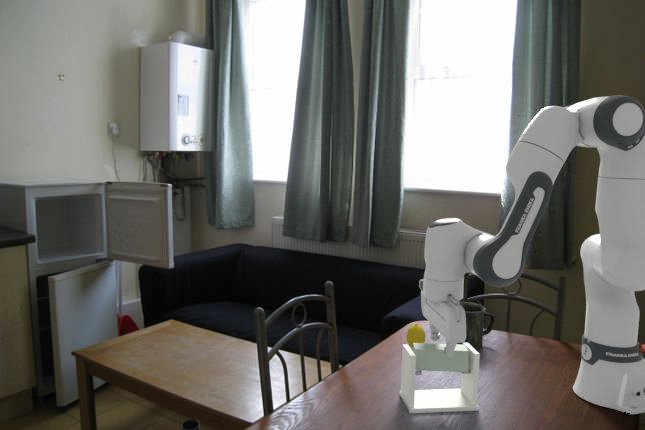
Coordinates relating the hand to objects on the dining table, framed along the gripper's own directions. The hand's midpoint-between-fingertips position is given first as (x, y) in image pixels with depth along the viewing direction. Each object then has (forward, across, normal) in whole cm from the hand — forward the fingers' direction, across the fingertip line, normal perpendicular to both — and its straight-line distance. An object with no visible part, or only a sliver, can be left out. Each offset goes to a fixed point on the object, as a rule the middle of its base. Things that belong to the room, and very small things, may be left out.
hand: (441, 347), depth 118 cm
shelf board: (+5, 0, 0) cm, 5 cm away
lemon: (+14, +32, -3) cm, 35 cm away
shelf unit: (+13, 0, +1) cm, 13 cm away
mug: (+14, +35, -21) cm, 43 cm away
